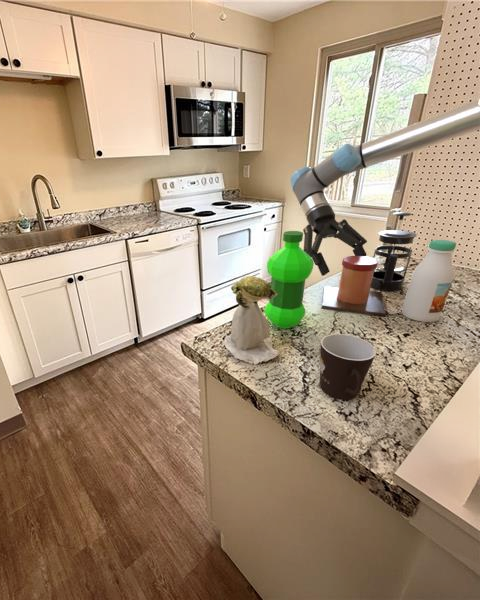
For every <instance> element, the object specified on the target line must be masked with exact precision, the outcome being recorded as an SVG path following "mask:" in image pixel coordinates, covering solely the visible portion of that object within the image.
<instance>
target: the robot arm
mask: <svg viewBox="0 0 480 600" xmlns="http://www.w3.org/2000/svg"><path fill="white" fill-rule="evenodd" d="M477 131H480V96H479V97H478V98H477V99H474V100H472V101H469V102H467V103H464V104H462V105H459V106H457V107H454V108H451V109H449V110H446V111H443V112H441V113H438V114H436V115H433V116H430V117H428V118H426V119H425V118H424V119H423V120H421V121H418V122H415V123H412V124H410V125H407V126H405V127H402V128H399V129H397V130H395V131H392V132H389V133H386V134H383V135H381V136H379V137H376V138H373V139H370V140H369V141H366V142H363V143H361V144H358V145H356V146H354V145H352V144H351V143H344V144H343V145H342V146H340V147H339V148H337V149H335V150H334V151H333V152H332V153H331V154H330V155H328V156H327V157H325V158H324V159H323V160H322V161H321V162H319V163H318V164H317V165H315V166H314V167H310V166H303V167H302V168H300V169H298V170H296V171H295V172H293V173H292V175H291V176H290V179H289V182H290V186H291V188H292V192H293V193H294V195H295V197H296V199H297V201H298V204H299V206H300V208H301V210H302V212H303V215H304V216H305V217H306V221H307V223H308V224H307V225H306V226H305V227H304V228H303V229H302V232H303V250H304V251H305V252H306V253H307V254H308V255H309V256H310V257H311V258H312V260H313V263H314V265H315V266H317V268H318V271H319V273H320V275H321V276H322V277H323V276H326V275H327V274H328V273H330V269H329V265H328V264H327V262H326V260H325V258H324V256H323V253H322V252H321V251H319V250H320V247H321V244H322V242H323V239H327V238H334V239H338V240H340V241H341V242H343V243H344V244H346V245H348V246H349V247H351V248H353V249H352V252H353V254H354V255H353V256H365V257H367V252H366V251H365V248H364V245H365V244H366V243H368V241H367V239H366V238H365V237H364V236H363V235H361V234H360V233H359V231H357V230H356V229H355V228H354V227H352V226H351V225H350V224H349V222H348V221H347V220H346V219H342V220H341V221H337V220H336V213H335V211H334V209H333V207H332V205H331V203H330V201H329V200H328V197H327V195H326V192H325V191H324V189H326V188H328V187H329V186H330V185H332V184H333V183H335V182H336V181H338V180H340V179H341V178H342V177H345V176H347V175H349V174H352V173H354V172H355V173H356V172H358V171H361V170H363V169H366V168H369V167H373V166H375V165H378V164H381V163H384V162H387V161H390V160H393V159H396V158H399V157H402V156H405V155H408V154H411V153H414V152H417V151H420V150H423V149H426V148H429V147H432V146H435V145H438V144H441V143H444V142H447V141H450V140H453V139H456V138H459V137H462V136H465V135H468V134H471V133H474V132H477ZM314 233H315V237H314V240H313V235H314Z"/></svg>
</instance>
